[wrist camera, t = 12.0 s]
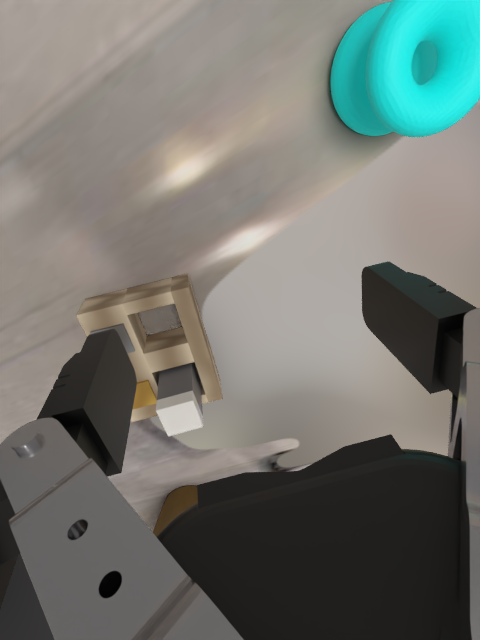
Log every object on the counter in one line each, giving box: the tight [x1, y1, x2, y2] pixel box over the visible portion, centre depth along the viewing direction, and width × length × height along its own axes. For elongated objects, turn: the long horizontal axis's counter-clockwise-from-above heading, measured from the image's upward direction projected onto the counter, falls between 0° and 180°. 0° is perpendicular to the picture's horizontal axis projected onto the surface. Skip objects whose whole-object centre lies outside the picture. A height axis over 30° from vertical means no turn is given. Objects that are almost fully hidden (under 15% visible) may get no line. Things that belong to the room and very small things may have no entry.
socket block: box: [76, 274, 223, 422], centre depth 41 cm, size 12×16×4 cm
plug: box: [156, 362, 203, 436], centre depth 41 cm, size 4×4×10 cm
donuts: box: [331, 0, 480, 137], centre depth 28 cm, size 10×10×10 cm
